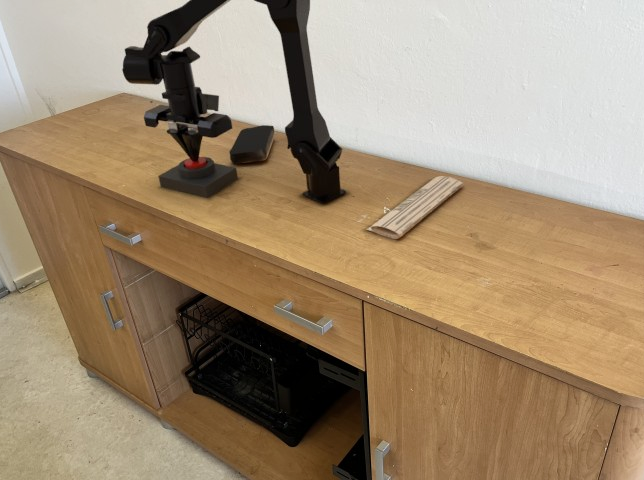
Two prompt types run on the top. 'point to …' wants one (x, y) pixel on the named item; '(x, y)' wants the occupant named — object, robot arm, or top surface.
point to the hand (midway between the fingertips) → (195, 160)
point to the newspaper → (416, 207)
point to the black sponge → (252, 144)
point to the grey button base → (199, 178)
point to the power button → (195, 163)
